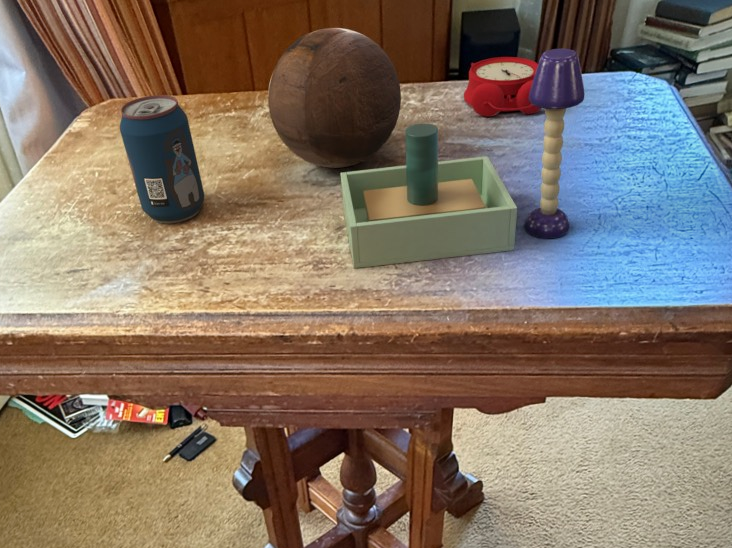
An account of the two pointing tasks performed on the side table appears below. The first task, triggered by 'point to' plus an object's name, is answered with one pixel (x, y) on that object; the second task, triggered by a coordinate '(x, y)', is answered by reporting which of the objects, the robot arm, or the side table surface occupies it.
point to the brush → (421, 184)
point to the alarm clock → (501, 85)
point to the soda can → (162, 158)
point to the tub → (429, 218)
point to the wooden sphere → (334, 97)
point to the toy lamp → (553, 134)
